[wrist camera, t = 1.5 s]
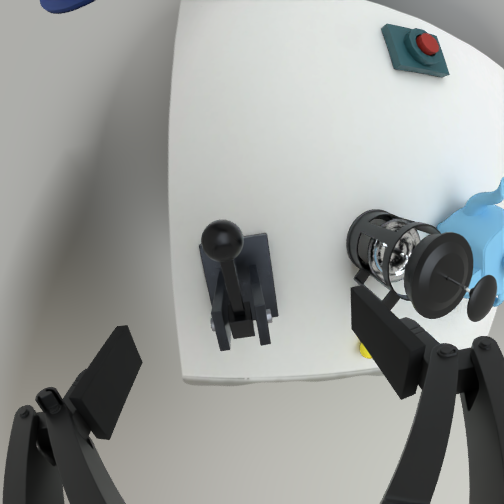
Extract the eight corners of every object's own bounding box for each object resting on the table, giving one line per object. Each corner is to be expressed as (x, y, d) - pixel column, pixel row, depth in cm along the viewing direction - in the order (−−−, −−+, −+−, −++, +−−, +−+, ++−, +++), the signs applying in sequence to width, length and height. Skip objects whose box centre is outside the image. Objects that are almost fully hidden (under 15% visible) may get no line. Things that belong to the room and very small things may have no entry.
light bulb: (358, 355, 44) (360, 362, 40) (359, 322, 44) (361, 327, 41) (377, 353, 43) (380, 360, 39) (378, 320, 43) (382, 325, 40)
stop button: (413, 34, 28) (418, 30, 26) (429, 39, 28) (435, 35, 26) (419, 53, 28) (425, 50, 27) (435, 57, 28) (441, 54, 27)
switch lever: (198, 215, 22) (195, 240, 19) (238, 208, 22) (242, 232, 19) (227, 318, 30) (229, 343, 27) (256, 314, 30) (260, 338, 27)
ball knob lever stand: (199, 243, 38) (180, 277, 24) (266, 232, 38) (281, 261, 25) (216, 322, 41) (209, 381, 27) (277, 312, 41) (294, 369, 27)
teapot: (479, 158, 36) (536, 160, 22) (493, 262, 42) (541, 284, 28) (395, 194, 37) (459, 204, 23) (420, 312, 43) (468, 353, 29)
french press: (373, 192, 37) (496, 213, 15) (412, 231, 39) (525, 276, 17) (326, 257, 39) (415, 341, 17) (369, 291, 41) (459, 377, 19)
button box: (380, 28, 30) (391, 19, 27) (429, 39, 31) (441, 32, 27) (393, 69, 32) (406, 61, 29) (442, 77, 33) (455, 72, 29)
